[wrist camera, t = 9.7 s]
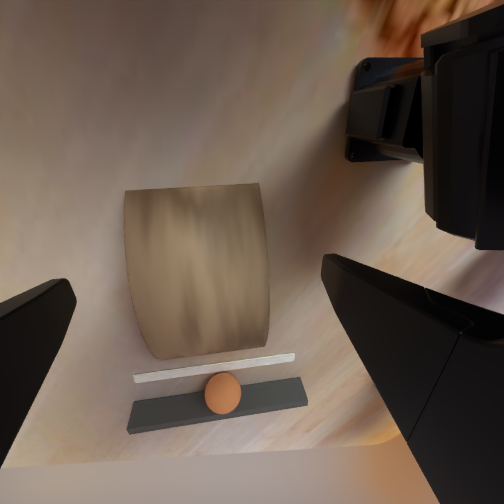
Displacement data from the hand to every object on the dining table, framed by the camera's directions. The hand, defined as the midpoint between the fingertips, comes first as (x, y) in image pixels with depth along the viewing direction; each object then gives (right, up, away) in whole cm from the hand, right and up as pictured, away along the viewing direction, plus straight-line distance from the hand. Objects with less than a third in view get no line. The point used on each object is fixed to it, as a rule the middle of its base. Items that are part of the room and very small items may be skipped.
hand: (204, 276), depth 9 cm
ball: (-2, -15, +19) cm, 24 cm away
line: (-2, -12, +20) cm, 23 cm away
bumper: (-2, -16, +22) cm, 27 cm away
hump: (-5, +6, +30) cm, 31 cm away
